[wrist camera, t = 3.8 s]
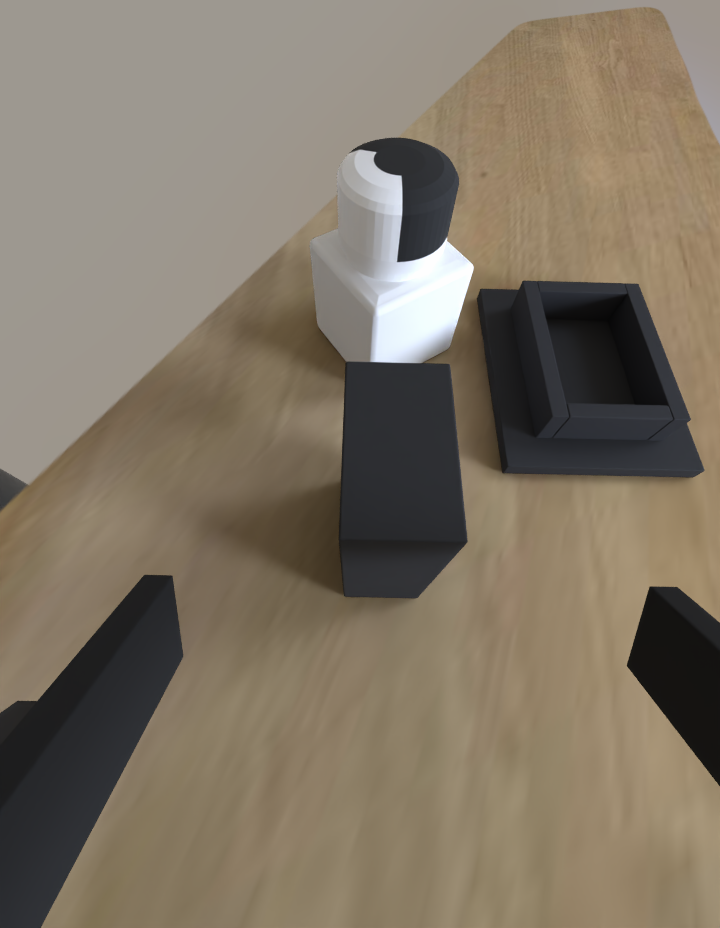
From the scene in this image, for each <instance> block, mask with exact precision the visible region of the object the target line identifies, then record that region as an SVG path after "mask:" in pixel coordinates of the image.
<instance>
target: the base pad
mask: <svg viewBox="0 0 720 928" xmlns="http://www.w3.org/2000/svg"><path fill="white" fill-rule="evenodd" d="M477 302H478V308H479V315H480V322H481V329H482V336H483V342H484V349H485V356H486V363H487V370H488V376H489V383H490V390H491V397H492V404H493V411H494V417H495V424H496V431H497V438H498V445H499V451H500V458H501V465H502V472H503V473H524V474H568V475H613V476H657V477H695V476H696V475H698V474H700V473H702V472H703V471H704V468H703V465H702V462H701V460H700V457H699V455H698V452H697V449H696V447H695V444H694V441H693V439H692V436H691V434H690V431H689V428H688V426H687V422H689V421H690V420H691V419H690V416H689V414H688V411H687V408H686V406H685V403H684V401H683V398H682V395H681V393H680V390H679V388H678V385H677V383H676V380H675V377H674V375H673V372H672V370H671V367H670V364H669V362H668V359H667V357H666V354H665V352H664V349H663V346H662V344H661V341H660V339H659V336H658V333H657V331H656V328H655V326H654V323H653V321H652V318H651V315H650V313H649V310H648V308H647V305H646V302H645V300H644V297H643V295H642V292H641V290H640V287H639V284H623V283H588V282H552V281H523V282H522V284H521V286H520V289H519V290H507V289H480V292H479V295H478V298H477Z"/></svg>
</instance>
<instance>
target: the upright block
mask: <svg viewBox="0 0 720 928" xmlns="http://www.w3.org/2000/svg"><path fill="white" fill-rule="evenodd" d="M466 543H467V531H466V521H465V511H464V501H463V491H462V481H461V470H460V460H459V450H458V440H457V430H456V420H455V410H454V399H453V389H452V379H451V369H450V364H429V363H390V362H351V361H347V362H346V367H345V393H344V418H343V444H342V470H341V496H340V521H339V546H340V557H341V568H342V579H343V591H344V596H345V597H385V598H418V597H419V595H420V594H421V593H422V592H423V591H424V590H425V589H426V588H427V587H428V585H429V584H430V583H431V582H432V581H433V580H434V579H435V578H436V577H437V575H438V574H439V573H440V572H441V571H442V570H443V569H444V568H445V567H446V565H447V564H448V563H449V562H450V561H451V560H452V559H453V558H454V557H455V555H456V554H457V553H458V552H459V551H460V550H461V549H462V548H463V547H464V545H465V544H466Z"/></svg>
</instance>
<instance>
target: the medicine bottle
mask: <svg viewBox="0 0 720 928" xmlns="http://www.w3.org/2000/svg"><path fill="white" fill-rule="evenodd" d="M458 186H459V177H458V174H457V171H456V169H455V168H454V166H453V164H452V162H451V161H450V159H449V158H448V157H447V156H446V155H445V154H444V153H442V152H441V151H440V150H438V149H436V148H435V147H433V146H430V145H428V144H425V143H422V142H419V141H416V140H412V139H407V138H385V139H379V140H375V141H370V142H367V143H365V144H362V145H360V146H358V147H357V148H355V149H353V150H352V151H351V152H350V153H349V154H348V155H347V156H346V158H345V159H344V160H343V161H342V163H341V165H340V166H339V169H338V172H337V193H338V229H335V230H333V231H330V232H328V233H325V234H323V235H320V236H318V237H315V238H313V239H312V240H311V241H310V253H311V264H312V274H313V285H314V295H315V306H316V316H317V325H318V327H319V328H320V330H321V331H322V332H323V333H324V335H325V336H326V337H327V338H328V340H329V341H330V342H331V343H332V345H333V346H334V347H335V348H336V350H337V351H338V352H339V353H340V355H341V356H342V357H343V358H344V360H345V361H346V362H347V361H351V362H390V363H423V362H425V361H427V360H428V359H430V358H432V357H434V356H436V355H438V354H440V353H442V352H444V351H445V350H447V349H448V348H449V347H450V344H451V341H452V338H453V334H454V331H455V328H456V324H457V321H458V318H459V315H460V311H461V308H462V305H463V301H464V298H465V295H466V292H467V288H468V285H469V282H470V279H471V275H472V272H473V265H472V263H471V262H469V261H468V260H467V259H466V258H465V257H464V256H463V255H462V254H461V253H460V252H458V251H457V250H456V249H455V248H454V247H453V246H452V245H451V244H450V243H449V242H447V241H446V240H447V236H448V231H449V227H450V222H451V218H452V213H453V209H454V204H455V200H456V195H457V191H458Z"/></svg>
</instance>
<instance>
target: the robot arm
mask: <svg viewBox="0 0 720 928" xmlns="http://www.w3.org/2000/svg"><path fill="white" fill-rule="evenodd" d="M182 658H183V650H182V643H181V636H180V628H179V621H178V613H177V606H176V598H175V591H174V584H173V576H168V575H144V576H143V577H142V578H141V579H140V581H139V582H138V583H137V584H136V585H135V587H134V588H133V589H132V590H131V591H130V592H129V594H128V595H127V596H126V597H125V598H124V599H123V601H122V602H121V603H120V604H119V605H118V607H117V608H116V609H115V610H114V611H113V612H112V614H111V615H110V616H109V617H108V618H107V620H106V621H105V622H104V623H103V624H102V625H101V627H100V628H99V629H98V630H97V631H96V633H95V634H94V635H93V636H92V637H91V638H90V640H89V641H88V642H87V643H86V644H85V646H84V647H83V648H82V649H81V650H80V651H79V653H78V654H77V655H76V656H75V657H74V659H73V660H72V661H71V662H70V663H69V664H68V666H67V667H66V668H65V669H64V670H63V671H62V673H61V674H60V675H59V676H58V677H57V679H56V680H55V681H54V682H53V683H52V684H51V686H50V687H49V688H48V689H47V690H46V692H45V693H44V694H43V695H42V696H41V697H40V699H39V700H38V701H17V702H15V703H14V704H12V705H11V706H10V707H8V708H7V709H5V710H4V711H3V712H1V713H0V928H41V926H42V924H43V922H44V920H45V918H46V916H47V915H48V913H49V911H50V909H51V907H52V905H53V903H54V901H55V899H56V897H57V896H58V894H59V892H60V890H61V888H62V886H63V884H64V882H65V880H66V878H67V876H68V875H69V873H70V871H71V869H72V867H73V865H74V863H75V861H76V859H77V857H78V856H79V854H80V852H81V850H82V848H83V846H84V844H85V842H86V840H87V838H88V837H89V835H90V833H91V831H92V829H93V827H94V825H95V823H96V821H97V819H98V818H99V816H100V814H101V812H102V810H103V808H104V806H105V804H106V802H107V800H108V799H109V797H110V795H111V793H112V791H113V789H114V787H115V785H116V783H117V781H118V780H119V778H120V776H121V774H122V772H123V770H124V768H125V766H126V764H127V762H128V761H129V759H130V757H131V755H132V753H133V751H134V749H135V747H136V745H137V743H138V742H139V740H140V738H141V736H142V734H143V732H144V730H145V728H146V726H147V724H148V722H149V721H150V719H151V717H152V715H153V713H154V711H155V709H156V707H157V705H158V703H159V702H160V700H161V698H162V696H163V694H164V692H165V690H166V688H167V686H168V684H169V683H170V681H171V679H172V677H173V675H174V673H175V671H176V669H177V667H178V665H179V664H180V662H181V660H182ZM627 667H628V668H629V669H630V671H631V672H632V673H633V674H634V676H635V677H636V678H637V680H638V681H639V682H640V684H641V685H642V686H643V687H644V689H645V690H646V691H647V693H648V694H649V695H650V696H651V698H652V699H653V700H654V702H655V703H656V704H657V706H658V707H659V708H660V709H661V711H662V712H663V713H664V715H665V716H666V717H667V718H668V720H669V721H670V722H671V724H672V725H673V726H674V728H675V729H676V730H677V731H678V733H679V734H680V735H681V737H682V738H683V739H684V740H685V742H686V743H687V744H688V746H689V747H690V748H691V750H692V751H693V752H694V753H695V755H696V756H697V757H698V759H699V760H700V761H701V762H702V764H703V765H704V766H705V768H706V769H707V770H708V772H709V773H710V774H711V775H712V777H713V778H714V779H715V781H716V782H717V783H718V785H719V786H720V623H719V622H718V621H717V620H716V619H715V618H713V617H712V616H711V615H710V614H709V613H707V612H706V611H705V610H704V609H703V608H701V607H700V606H699V605H698V604H697V603H696V602H694V601H693V600H692V599H691V598H690V597H688V596H687V595H686V594H685V593H684V592H682V591H681V590H680V589H679V588H678V587H649V591H648V594H647V598H646V601H645V605H644V608H643V612H642V615H641V618H640V622H639V625H638V629H637V632H636V636H635V639H634V643H633V646H632V650H631V653H630V656H629V660H628V663H627Z"/></svg>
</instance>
